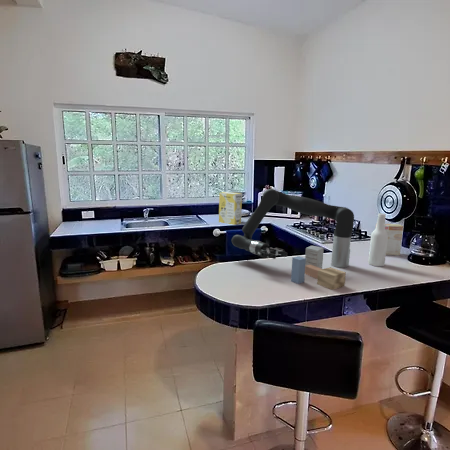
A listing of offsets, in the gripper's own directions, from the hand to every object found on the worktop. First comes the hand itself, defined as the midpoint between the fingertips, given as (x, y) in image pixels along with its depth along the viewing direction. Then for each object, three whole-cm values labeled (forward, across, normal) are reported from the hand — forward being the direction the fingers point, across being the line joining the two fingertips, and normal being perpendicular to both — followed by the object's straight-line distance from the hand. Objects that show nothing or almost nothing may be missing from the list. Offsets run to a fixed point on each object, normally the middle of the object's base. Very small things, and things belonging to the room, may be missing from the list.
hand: (281, 255), depth 170 cm
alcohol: (+18, +61, +9) cm, 65 cm away
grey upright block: (+4, +21, +10) cm, 24 cm away
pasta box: (-128, +68, +11) cm, 146 cm away
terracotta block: (+10, +14, +10) cm, 21 cm away
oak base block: (+24, +10, +10) cm, 28 cm away
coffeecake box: (+9, +90, +9) cm, 91 cm away
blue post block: (+12, 0, +10) cm, 15 cm away
